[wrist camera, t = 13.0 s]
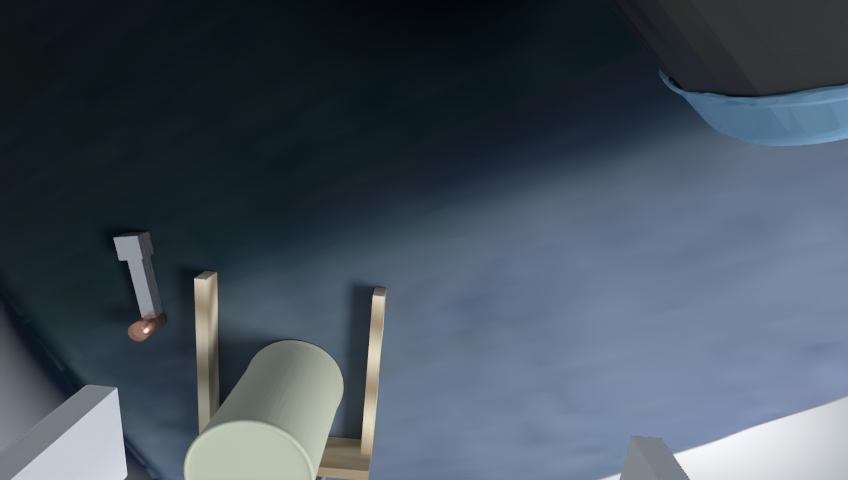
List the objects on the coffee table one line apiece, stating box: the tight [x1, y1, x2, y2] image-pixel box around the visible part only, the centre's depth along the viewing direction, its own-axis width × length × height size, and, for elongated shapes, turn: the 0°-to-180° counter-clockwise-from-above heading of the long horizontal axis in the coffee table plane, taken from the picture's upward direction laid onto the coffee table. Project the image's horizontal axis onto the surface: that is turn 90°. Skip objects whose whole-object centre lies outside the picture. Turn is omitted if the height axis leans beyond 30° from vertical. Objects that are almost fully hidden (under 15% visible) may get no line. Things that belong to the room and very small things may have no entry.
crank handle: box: [114, 231, 167, 341], centre depth 38 cm, size 9×2×3 cm, turn 4°
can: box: [184, 340, 344, 480], centre depth 36 cm, size 9×9×12 cm
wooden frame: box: [194, 271, 387, 480], centre depth 39 cm, size 21×16×7 cm
